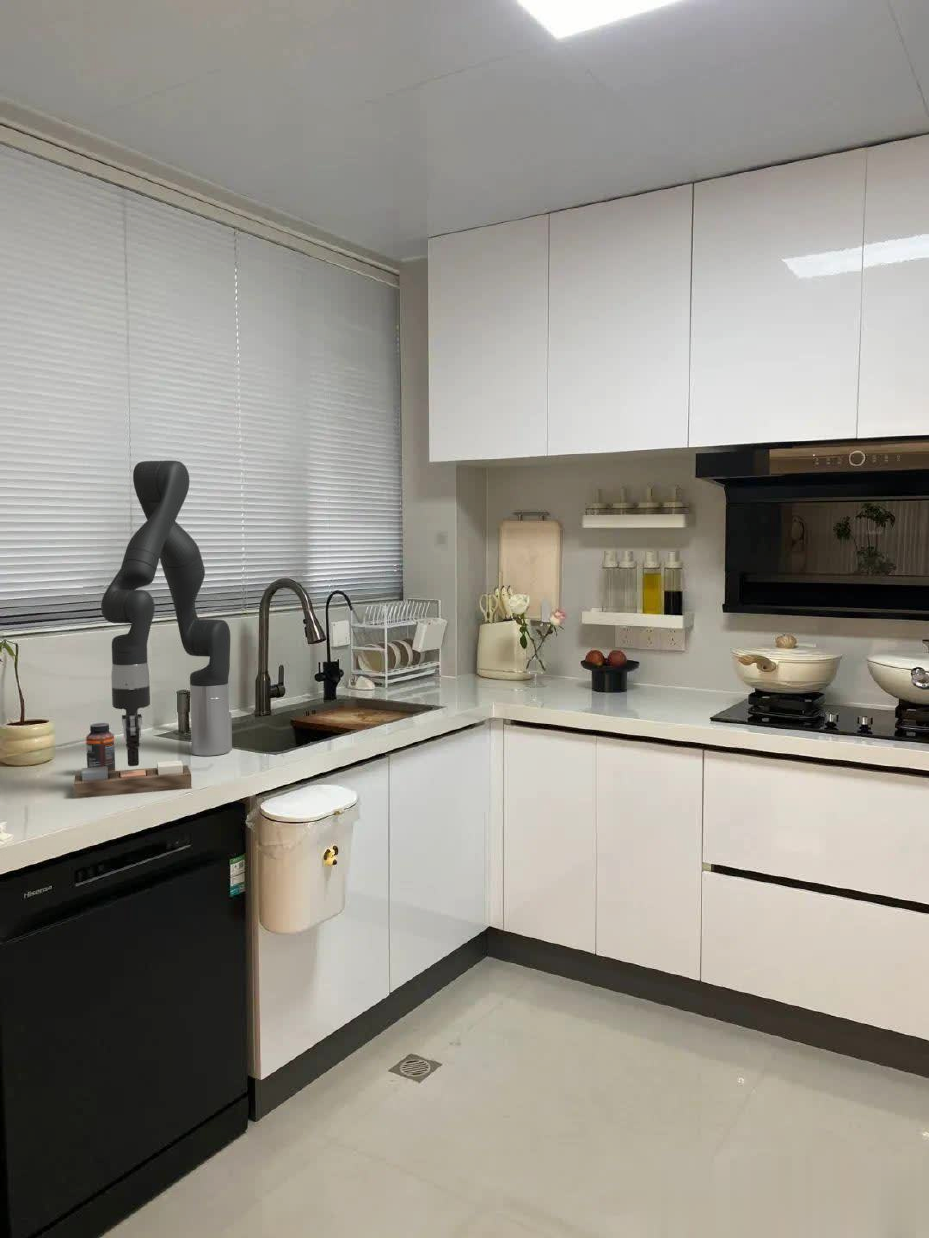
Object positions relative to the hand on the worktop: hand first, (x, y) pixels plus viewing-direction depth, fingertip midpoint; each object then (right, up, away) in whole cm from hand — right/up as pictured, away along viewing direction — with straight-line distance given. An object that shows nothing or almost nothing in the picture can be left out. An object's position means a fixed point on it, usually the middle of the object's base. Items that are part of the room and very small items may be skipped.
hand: (133, 765), depth 201 cm
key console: (0, -5, 0) cm, 5 cm away
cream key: (+7, -2, +3) cm, 8 cm away
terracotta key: (0, -4, 0) cm, 4 cm away
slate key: (-7, -3, -3) cm, 8 cm away
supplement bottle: (-12, -4, +13) cm, 18 cm away
